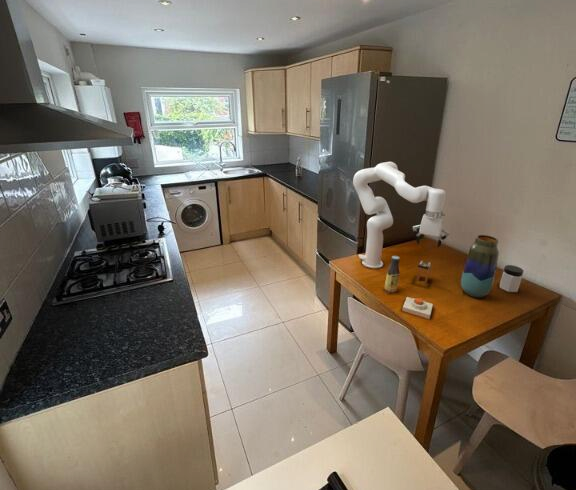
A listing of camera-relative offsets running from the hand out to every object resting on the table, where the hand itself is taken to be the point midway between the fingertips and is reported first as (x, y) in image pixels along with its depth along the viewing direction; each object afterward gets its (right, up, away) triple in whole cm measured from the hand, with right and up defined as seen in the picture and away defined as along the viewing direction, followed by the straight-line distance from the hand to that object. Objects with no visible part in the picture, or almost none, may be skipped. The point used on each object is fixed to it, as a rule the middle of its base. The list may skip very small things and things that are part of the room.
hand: (427, 244), depth 157 cm
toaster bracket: (+2, -22, +12) cm, 25 cm away
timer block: (-11, -30, -12) cm, 34 cm away
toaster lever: (0, -13, +5) cm, 14 cm away
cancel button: (-11, -27, -13) cm, 32 cm away
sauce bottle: (-19, -25, +3) cm, 31 cm away
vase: (+25, -26, +1) cm, 36 cm away
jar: (+46, -24, +6) cm, 52 cm away
